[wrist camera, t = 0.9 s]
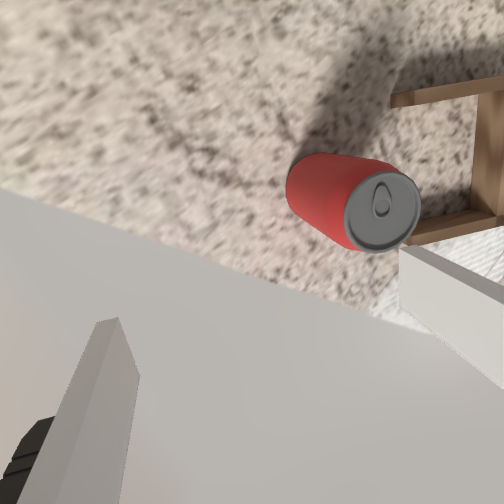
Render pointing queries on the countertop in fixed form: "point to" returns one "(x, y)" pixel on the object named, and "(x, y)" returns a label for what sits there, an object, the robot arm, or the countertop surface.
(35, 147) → the countertop surface
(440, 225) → the walnut bay
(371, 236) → the beer can
